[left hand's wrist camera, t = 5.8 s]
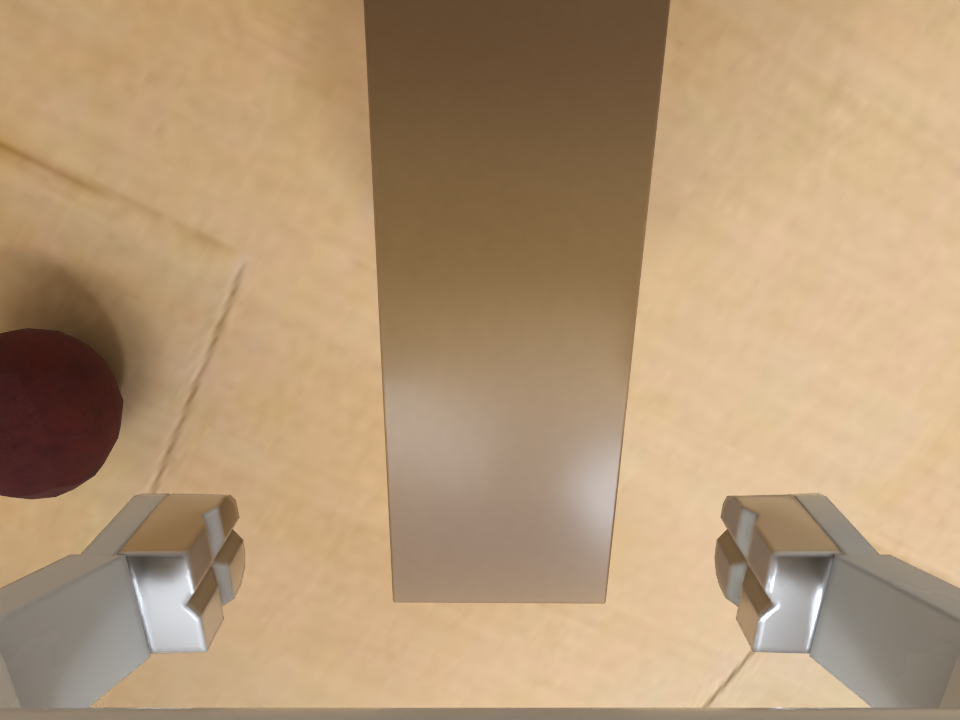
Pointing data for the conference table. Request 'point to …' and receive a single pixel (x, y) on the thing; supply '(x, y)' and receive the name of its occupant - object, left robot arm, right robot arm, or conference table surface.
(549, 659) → the conference table surface
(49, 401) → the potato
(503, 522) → the bar
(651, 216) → the conference table surface
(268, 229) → the conference table surface
